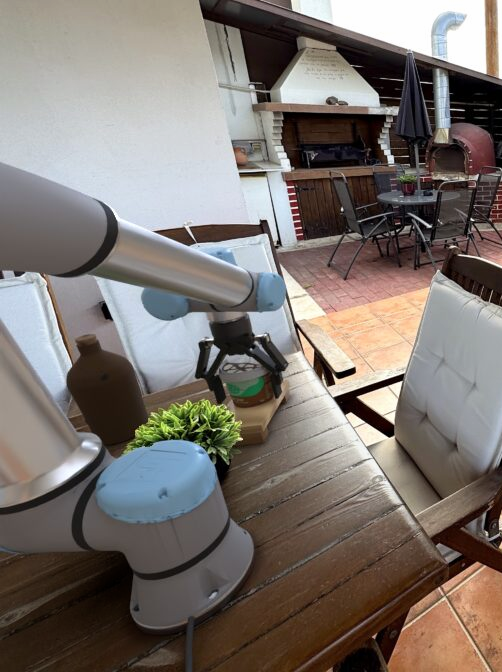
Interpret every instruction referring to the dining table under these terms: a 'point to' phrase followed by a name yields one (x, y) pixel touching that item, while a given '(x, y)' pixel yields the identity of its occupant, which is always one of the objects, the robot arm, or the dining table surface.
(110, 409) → the olive oil
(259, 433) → the tan wooden block
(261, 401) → the food container
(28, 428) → the robot arm
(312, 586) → the dining table surface
